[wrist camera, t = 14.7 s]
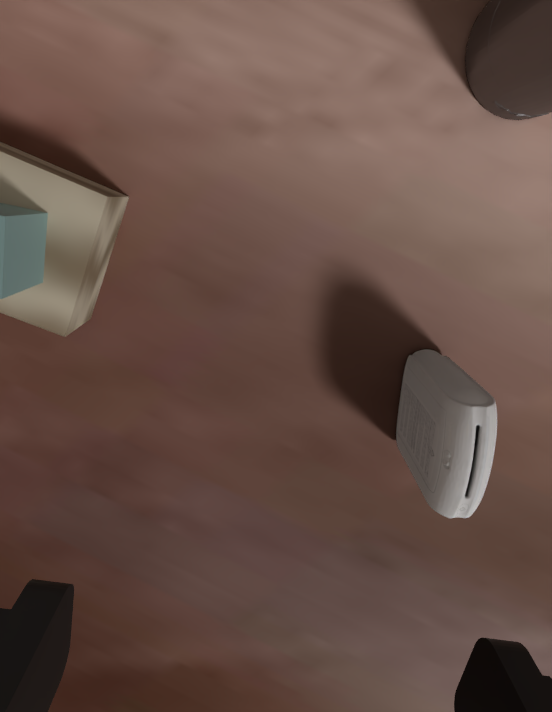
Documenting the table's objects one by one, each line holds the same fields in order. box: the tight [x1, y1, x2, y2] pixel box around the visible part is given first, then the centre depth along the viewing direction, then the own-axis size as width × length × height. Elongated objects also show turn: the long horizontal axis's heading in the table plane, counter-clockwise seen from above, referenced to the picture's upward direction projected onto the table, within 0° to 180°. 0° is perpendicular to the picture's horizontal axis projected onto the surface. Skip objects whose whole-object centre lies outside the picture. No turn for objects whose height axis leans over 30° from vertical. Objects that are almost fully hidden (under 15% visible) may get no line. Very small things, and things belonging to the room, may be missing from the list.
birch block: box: [0, 142, 129, 337], centre depth 37 cm, size 11×11×6 cm
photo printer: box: [396, 349, 497, 518], centre depth 39 cm, size 10×4×12 cm, turn 178°
